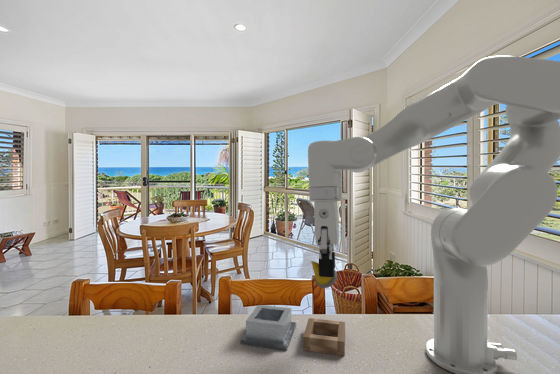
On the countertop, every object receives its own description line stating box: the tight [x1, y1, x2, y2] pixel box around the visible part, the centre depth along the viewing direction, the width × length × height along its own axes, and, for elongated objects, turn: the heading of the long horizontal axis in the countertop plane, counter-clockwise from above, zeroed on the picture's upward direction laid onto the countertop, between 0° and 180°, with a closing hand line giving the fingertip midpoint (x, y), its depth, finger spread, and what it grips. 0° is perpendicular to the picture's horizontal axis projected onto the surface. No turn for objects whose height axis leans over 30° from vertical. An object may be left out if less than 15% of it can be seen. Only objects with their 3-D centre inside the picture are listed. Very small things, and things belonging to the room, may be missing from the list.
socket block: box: [302, 317, 346, 357], centre depth 66 cm, size 9×9×3 cm
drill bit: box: [310, 260, 338, 289], centre depth 65 cm, size 5×5×10 cm
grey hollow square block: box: [239, 304, 297, 351], centre depth 69 cm, size 11×11×5 cm
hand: (327, 271), depth 66 cm, fingers closed on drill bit, 5 cm apart
